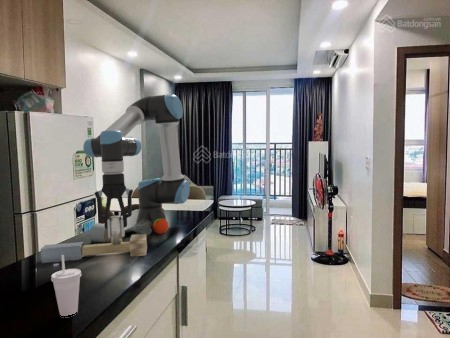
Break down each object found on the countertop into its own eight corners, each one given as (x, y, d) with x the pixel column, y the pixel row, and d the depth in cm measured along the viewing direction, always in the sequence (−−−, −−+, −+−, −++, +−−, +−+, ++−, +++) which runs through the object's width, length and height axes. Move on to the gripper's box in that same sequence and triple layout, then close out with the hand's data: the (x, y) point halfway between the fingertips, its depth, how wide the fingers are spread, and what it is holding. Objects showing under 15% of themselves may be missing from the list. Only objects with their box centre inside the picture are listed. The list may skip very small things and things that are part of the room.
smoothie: (60, 308, 82) (56, 251, 81) (87, 306, 82) (83, 250, 81) (48, 321, 75) (44, 260, 75) (78, 319, 76) (74, 258, 75)
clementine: (159, 236, 147) (159, 220, 147) (148, 235, 151) (147, 219, 150) (171, 232, 154) (171, 217, 154) (160, 231, 158) (159, 216, 157)
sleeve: (41, 263, 117) (40, 248, 116) (46, 258, 122) (45, 244, 121) (81, 259, 119) (80, 245, 119) (84, 255, 124) (83, 241, 124)
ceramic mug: (105, 244, 137) (104, 226, 137) (89, 243, 140) (89, 225, 140) (122, 238, 147) (121, 221, 147) (107, 237, 150) (106, 220, 150)
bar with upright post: (71, 257, 119) (68, 220, 118) (74, 253, 123) (71, 218, 122) (138, 251, 123) (136, 216, 122) (138, 248, 127) (136, 214, 126)
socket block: (130, 256, 120) (129, 241, 120) (132, 249, 129) (131, 234, 129) (146, 255, 121) (145, 239, 121) (147, 248, 130) (146, 233, 130)
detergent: (144, 246, 133) (163, 229, 158) (141, 228, 132) (161, 214, 157) (113, 249, 135) (137, 232, 159) (110, 231, 134) (135, 217, 159)
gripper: (86, 175, 117) (90, 241, 118) (136, 172, 120) (139, 237, 121) (90, 173, 124) (94, 235, 126) (138, 171, 127) (141, 232, 129)
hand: (116, 236), depth 123 cm, fingers closed on bar with upright post, 4 cm apart
